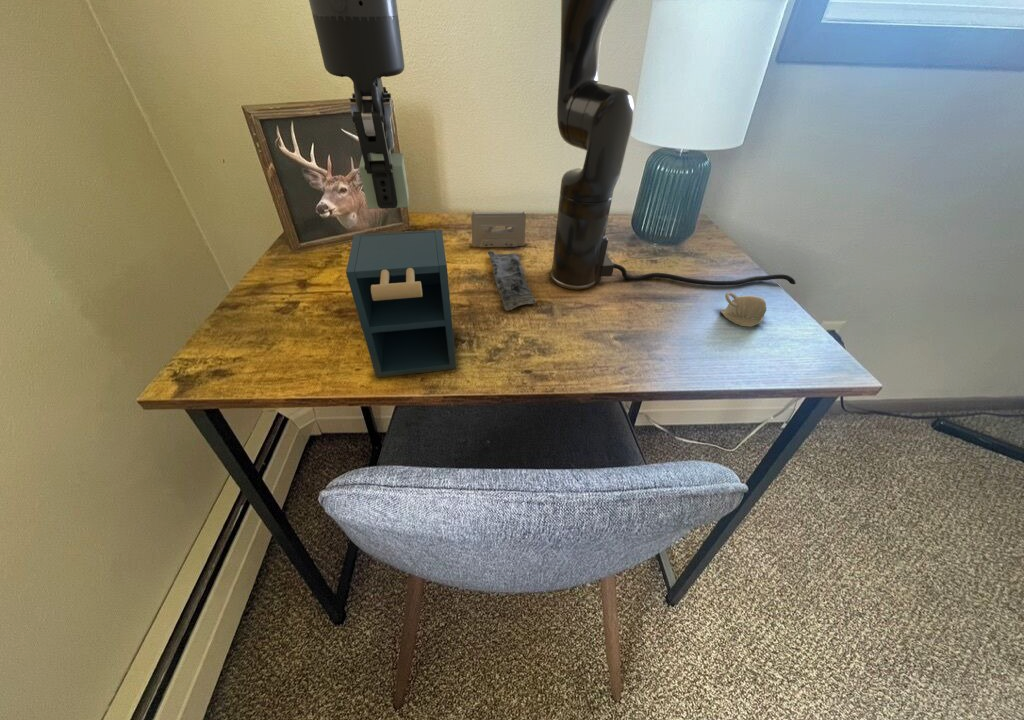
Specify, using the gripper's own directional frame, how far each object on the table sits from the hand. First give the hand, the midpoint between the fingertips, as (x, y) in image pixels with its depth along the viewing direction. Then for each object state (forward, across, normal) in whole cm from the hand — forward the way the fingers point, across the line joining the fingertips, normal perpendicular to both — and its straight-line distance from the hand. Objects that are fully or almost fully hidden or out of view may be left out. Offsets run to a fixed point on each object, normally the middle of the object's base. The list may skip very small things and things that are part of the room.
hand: (388, 197), depth 48 cm
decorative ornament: (+25, 0, -58) cm, 63 cm away
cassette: (+25, +34, -19) cm, 46 cm away
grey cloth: (+25, +19, -19) cm, 37 cm away
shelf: (+15, +5, 0) cm, 16 cm away
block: (0, 0, 0) cm, 0 cm away
